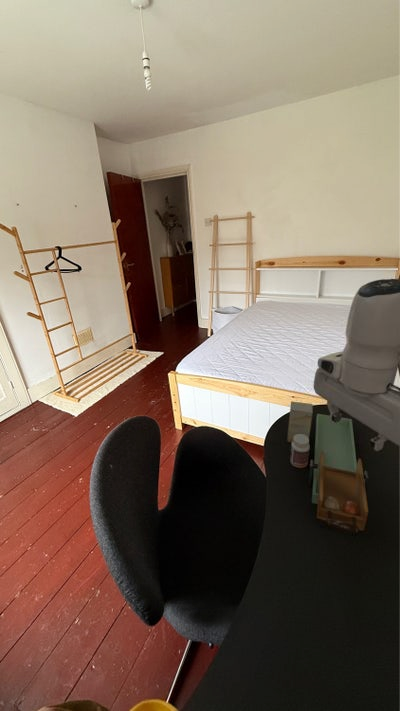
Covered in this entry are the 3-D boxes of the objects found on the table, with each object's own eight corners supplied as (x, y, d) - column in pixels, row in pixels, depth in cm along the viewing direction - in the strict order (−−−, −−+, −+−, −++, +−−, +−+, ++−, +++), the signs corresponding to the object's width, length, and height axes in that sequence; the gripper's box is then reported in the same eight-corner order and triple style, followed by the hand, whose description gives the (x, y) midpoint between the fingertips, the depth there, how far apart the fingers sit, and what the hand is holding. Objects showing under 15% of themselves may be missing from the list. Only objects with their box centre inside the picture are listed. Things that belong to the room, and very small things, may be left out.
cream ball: (328, 500, 64) (330, 490, 63) (341, 512, 62) (343, 501, 60) (318, 507, 63) (319, 497, 62) (330, 519, 61) (332, 509, 59)
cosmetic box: (287, 442, 90) (289, 409, 85) (288, 432, 94) (290, 400, 89) (309, 445, 88) (312, 412, 83) (309, 436, 92) (312, 403, 87)
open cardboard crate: (365, 547, 56) (370, 528, 53) (316, 533, 59) (319, 515, 56) (357, 476, 70) (361, 459, 68) (318, 467, 73) (320, 451, 71)
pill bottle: (311, 464, 82) (314, 441, 78) (297, 470, 80) (299, 447, 77) (300, 453, 86) (302, 430, 82) (286, 458, 84) (288, 435, 81)
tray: (359, 514, 68) (361, 506, 67) (311, 502, 71) (313, 494, 70) (350, 426, 94) (351, 419, 93) (316, 420, 98) (317, 413, 97)
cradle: (367, 540, 62) (374, 518, 59) (305, 523, 67) (308, 501, 64) (362, 493, 73) (367, 471, 70) (308, 480, 77) (310, 459, 74)
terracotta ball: (348, 505, 63) (350, 495, 62) (361, 517, 60) (364, 506, 59) (337, 512, 62) (339, 502, 60) (351, 525, 59) (353, 514, 58)
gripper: (440, 395, 46) (417, 461, 52) (334, 349, 63) (326, 403, 69) (414, 407, 43) (393, 475, 50) (311, 356, 60) (305, 411, 66)
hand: (354, 433), depth 59 cm, fingers open, 8 cm apart
